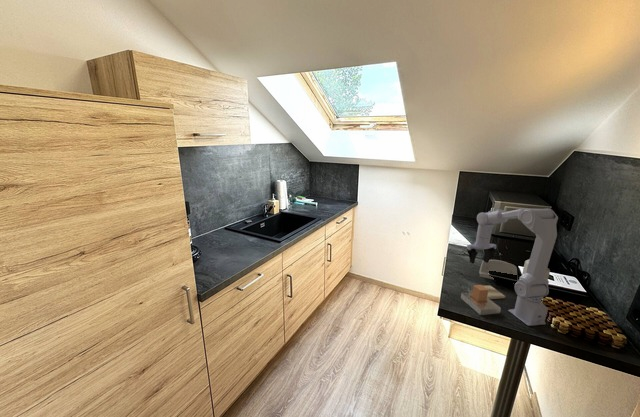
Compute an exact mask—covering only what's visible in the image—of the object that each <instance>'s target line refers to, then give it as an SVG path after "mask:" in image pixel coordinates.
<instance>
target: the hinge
mask: <svg viewBox="0 0 640 417" xmlns="http://www.w3.org/2000/svg"><path fill="white" fill-rule="evenodd" d="M489 271H496V272H501V273H507V274H513V275H517V276H518V268H517V266H516V265H515V264H512V263H509V262H507V261H503V260H499V259H490V260H489V261H488V263H486V262H484V259H483V260H482V261H481V264H480V267H479V270H478V274H479V277H480V278H485V279H489V280H494V278H493V277H491V276H489V274H488V272H489Z"/></svg>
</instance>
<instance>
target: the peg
mask: <svg viewBox="0 0 640 417" xmlns="http://www.w3.org/2000/svg"><path fill="white" fill-rule="evenodd" d="M484 286H485V285H483V284H475V285H472V289H471V290H472V295H471V298H473V299H474V300H475V301H476V302H477V303H480V302H486V300H487V295H488V289H487V288H485V287H484Z"/></svg>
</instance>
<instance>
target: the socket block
mask: <svg viewBox="0 0 640 417" xmlns="http://www.w3.org/2000/svg"><path fill="white" fill-rule="evenodd" d="M471 295H472V292H471V291H470V292H468V291H467V292H461V295H460V299H461V300H462V301H463V302H464V303H466V304H467V305H468V306H469V307H470V308H471V309H473V311H475V312H476V313H477V315H480V316H485V315H486V316H487V315H495V314H501V309H502V307H501V306H499V305H498V304H497V303H495V302H494V301H493V300H492V299H489V298H487V300H486V302H480V303H477V302H476V301H475V300H474V299H473V298H471Z"/></svg>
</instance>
